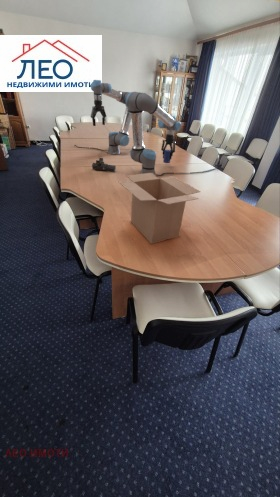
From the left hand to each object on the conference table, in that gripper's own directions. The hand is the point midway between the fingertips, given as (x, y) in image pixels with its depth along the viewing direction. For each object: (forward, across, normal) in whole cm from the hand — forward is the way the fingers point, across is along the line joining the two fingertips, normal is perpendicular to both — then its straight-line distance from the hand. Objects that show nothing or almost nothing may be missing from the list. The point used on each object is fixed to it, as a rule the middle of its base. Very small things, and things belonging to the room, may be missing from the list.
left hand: (99, 125), depth 223 cm
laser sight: (+34, -26, -28) cm, 50 cm away
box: (+34, -87, -123) cm, 154 cm away
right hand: (+25, +30, -66) cm, 77 cm away
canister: (+28, +30, -66) cm, 78 cm away
